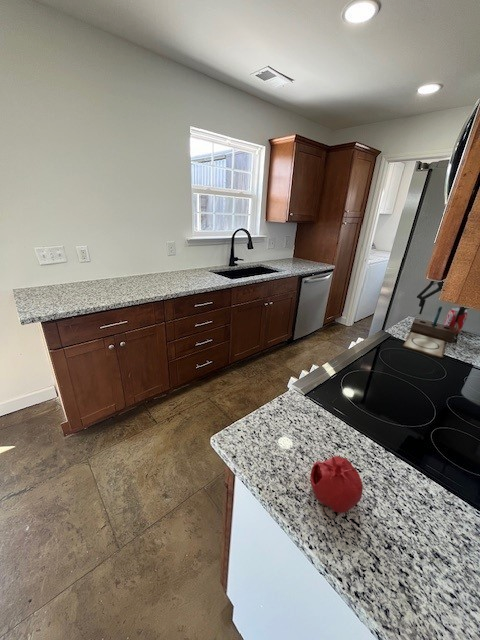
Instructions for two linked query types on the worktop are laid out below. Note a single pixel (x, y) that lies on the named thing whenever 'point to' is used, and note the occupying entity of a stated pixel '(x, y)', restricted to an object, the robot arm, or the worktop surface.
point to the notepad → (425, 344)
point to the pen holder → (433, 330)
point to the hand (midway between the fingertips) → (437, 317)
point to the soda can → (452, 316)
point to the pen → (437, 316)
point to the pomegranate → (336, 484)
